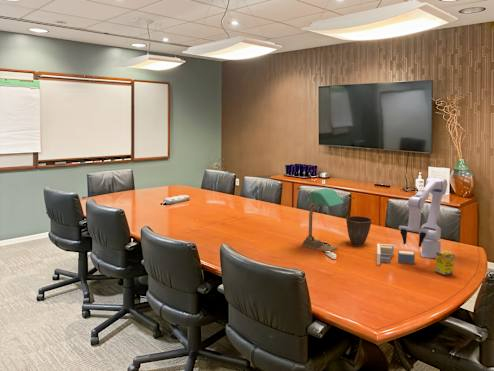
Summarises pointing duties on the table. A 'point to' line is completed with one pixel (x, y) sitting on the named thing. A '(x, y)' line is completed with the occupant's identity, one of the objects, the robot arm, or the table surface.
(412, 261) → the boxed book
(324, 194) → the banker's lamp
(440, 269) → the supplement box
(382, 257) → the book rack
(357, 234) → the plant pot
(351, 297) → the table surface
